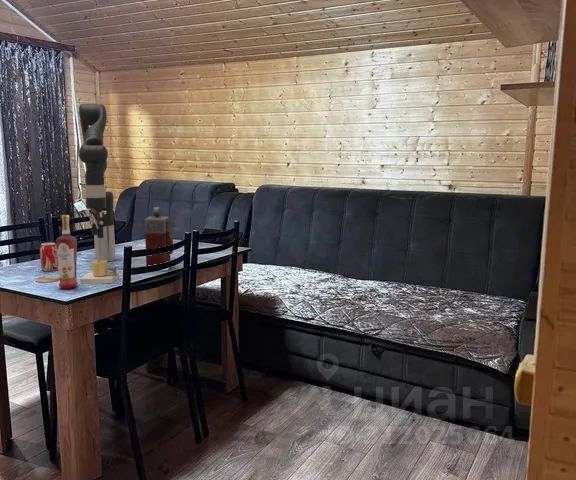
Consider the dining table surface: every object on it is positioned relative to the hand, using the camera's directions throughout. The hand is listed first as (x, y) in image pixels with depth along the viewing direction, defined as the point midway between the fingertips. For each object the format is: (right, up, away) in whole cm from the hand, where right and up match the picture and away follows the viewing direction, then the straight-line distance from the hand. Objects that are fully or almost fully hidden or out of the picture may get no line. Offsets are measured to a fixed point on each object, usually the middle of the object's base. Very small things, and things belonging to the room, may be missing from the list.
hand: (97, 236), depth 209 cm
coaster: (-21, -18, +2) cm, 28 cm away
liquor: (-8, -20, -9) cm, 23 cm away
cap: (0, -16, +3) cm, 16 cm away
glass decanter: (+20, -15, +25) cm, 35 cm away
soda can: (-28, -15, +20) cm, 38 cm away
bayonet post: (0, -18, +3) cm, 18 cm away
